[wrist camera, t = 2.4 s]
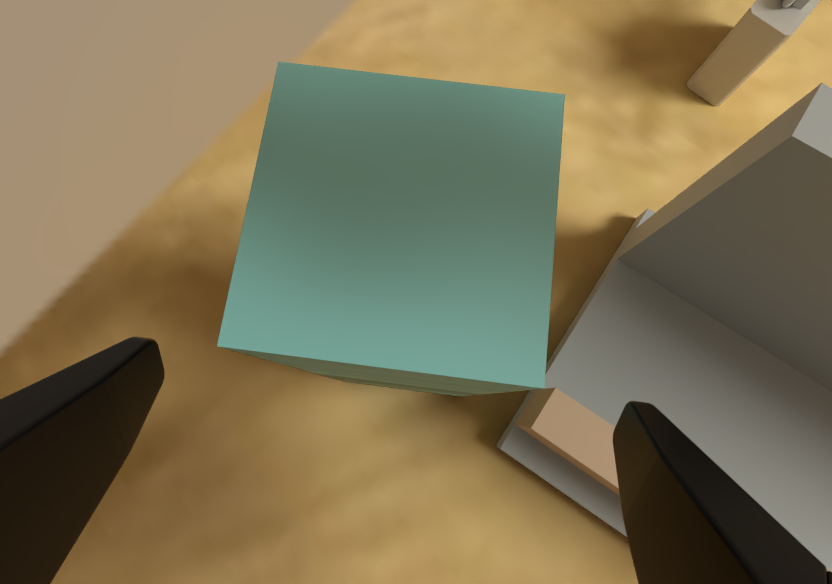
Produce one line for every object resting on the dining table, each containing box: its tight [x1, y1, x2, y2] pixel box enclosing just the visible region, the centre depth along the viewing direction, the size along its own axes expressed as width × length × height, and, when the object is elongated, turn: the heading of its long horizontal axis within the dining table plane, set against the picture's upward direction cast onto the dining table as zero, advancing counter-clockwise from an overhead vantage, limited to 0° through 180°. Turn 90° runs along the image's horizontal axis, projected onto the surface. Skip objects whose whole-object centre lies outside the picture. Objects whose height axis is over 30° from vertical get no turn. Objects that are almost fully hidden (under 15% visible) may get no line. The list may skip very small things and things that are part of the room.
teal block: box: [217, 62, 565, 397], centre depth 13 cm, size 4×4×12 cm
